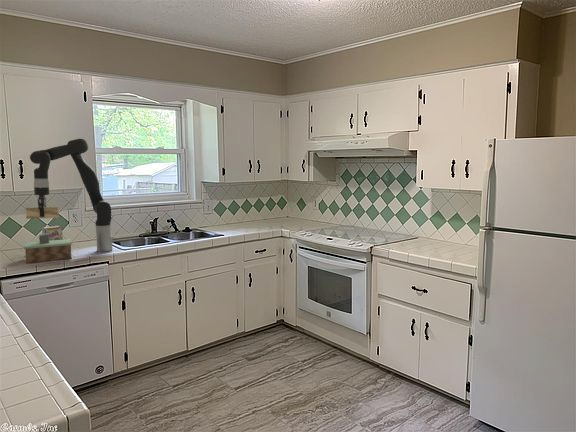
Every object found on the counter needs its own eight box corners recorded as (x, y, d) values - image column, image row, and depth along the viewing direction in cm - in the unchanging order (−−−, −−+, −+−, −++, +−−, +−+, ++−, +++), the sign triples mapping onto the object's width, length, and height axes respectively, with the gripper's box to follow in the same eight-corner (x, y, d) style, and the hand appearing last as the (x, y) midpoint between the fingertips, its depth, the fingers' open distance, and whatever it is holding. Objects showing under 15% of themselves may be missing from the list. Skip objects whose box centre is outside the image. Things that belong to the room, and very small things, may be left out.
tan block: (27, 217, 258) (27, 207, 257) (58, 217, 263) (58, 207, 263) (26, 218, 254) (25, 208, 254) (57, 218, 260) (57, 207, 259)
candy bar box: (46, 253, 292) (44, 228, 290) (43, 252, 296) (41, 227, 293) (63, 250, 301) (62, 226, 299) (60, 249, 304) (58, 225, 302)
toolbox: (70, 254, 287) (69, 241, 286) (71, 259, 275) (70, 244, 274) (26, 258, 276) (25, 244, 274) (26, 263, 263) (25, 248, 262)
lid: (70, 240, 287) (69, 231, 286) (71, 244, 274) (71, 234, 273) (24, 244, 275) (24, 234, 274) (24, 248, 262) (23, 238, 261)
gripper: (36, 185, 262) (37, 215, 264) (31, 187, 249) (33, 217, 251) (50, 186, 265) (51, 214, 267) (46, 187, 251) (48, 217, 253)
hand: (42, 216), depth 259 cm, fingers closed on tan block, 4 cm apart
